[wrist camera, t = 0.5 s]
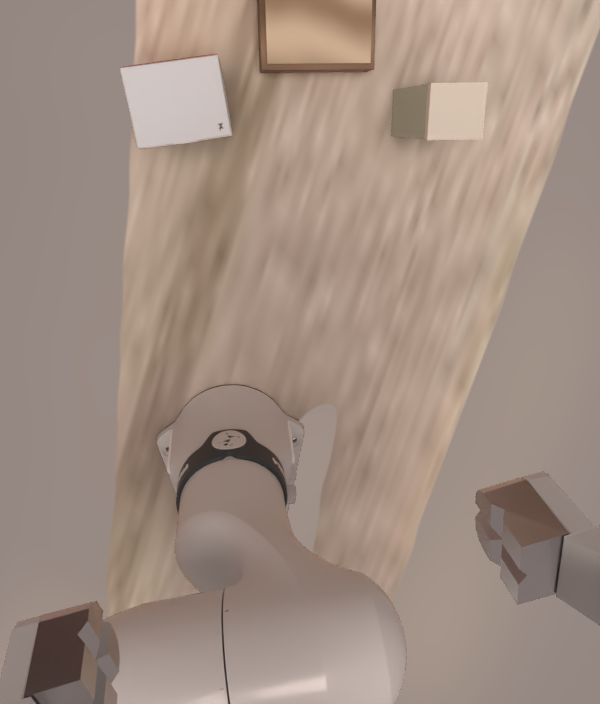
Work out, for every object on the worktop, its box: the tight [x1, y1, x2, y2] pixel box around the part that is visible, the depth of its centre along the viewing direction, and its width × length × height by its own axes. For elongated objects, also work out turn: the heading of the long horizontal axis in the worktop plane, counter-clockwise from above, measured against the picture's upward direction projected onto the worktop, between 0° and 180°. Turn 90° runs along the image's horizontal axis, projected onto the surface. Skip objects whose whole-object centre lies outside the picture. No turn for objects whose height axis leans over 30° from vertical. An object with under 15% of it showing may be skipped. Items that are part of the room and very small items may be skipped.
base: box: [257, 0, 376, 73], centre depth 54 cm, size 10×11×4 cm
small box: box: [120, 54, 232, 149], centre depth 51 cm, size 8×6×13 cm
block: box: [391, 82, 488, 140], centre depth 55 cm, size 5×5×12 cm
